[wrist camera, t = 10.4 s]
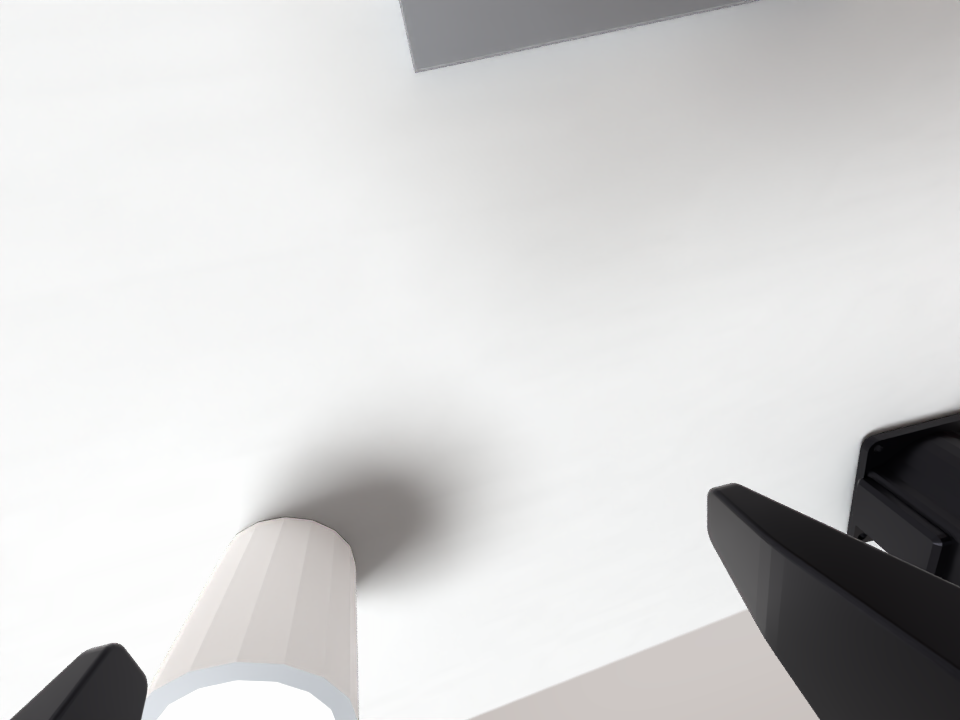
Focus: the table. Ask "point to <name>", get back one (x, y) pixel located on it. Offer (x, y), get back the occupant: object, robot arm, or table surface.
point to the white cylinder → (267, 632)
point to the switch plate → (525, 24)
